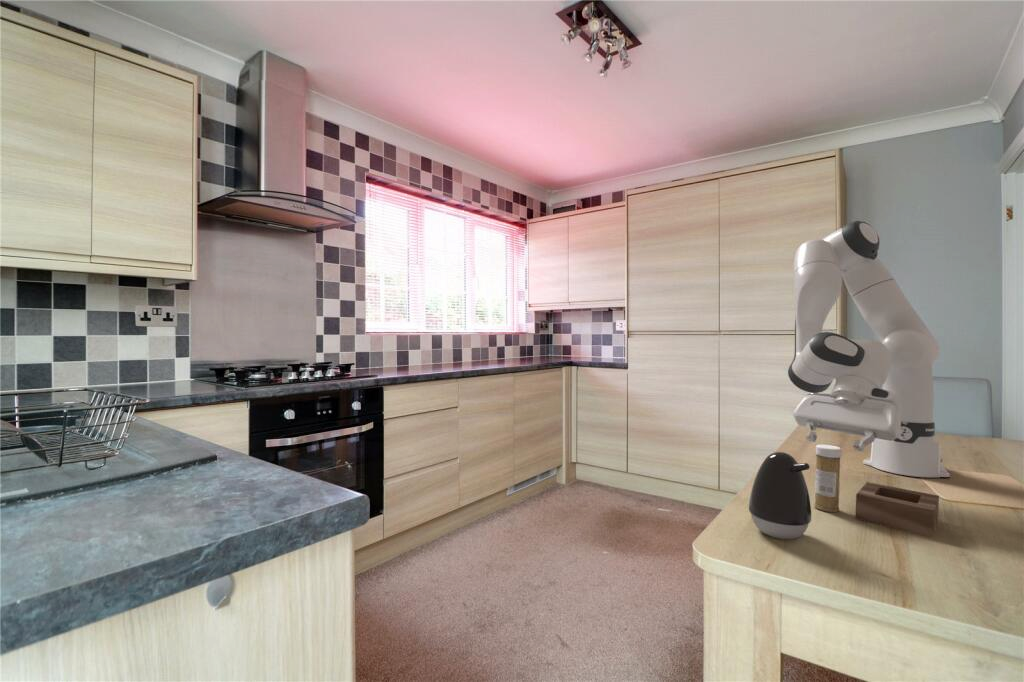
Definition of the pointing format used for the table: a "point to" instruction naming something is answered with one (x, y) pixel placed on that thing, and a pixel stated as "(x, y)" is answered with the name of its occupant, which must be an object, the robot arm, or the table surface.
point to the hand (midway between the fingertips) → (833, 444)
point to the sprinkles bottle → (827, 478)
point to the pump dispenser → (780, 497)
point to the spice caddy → (898, 508)
